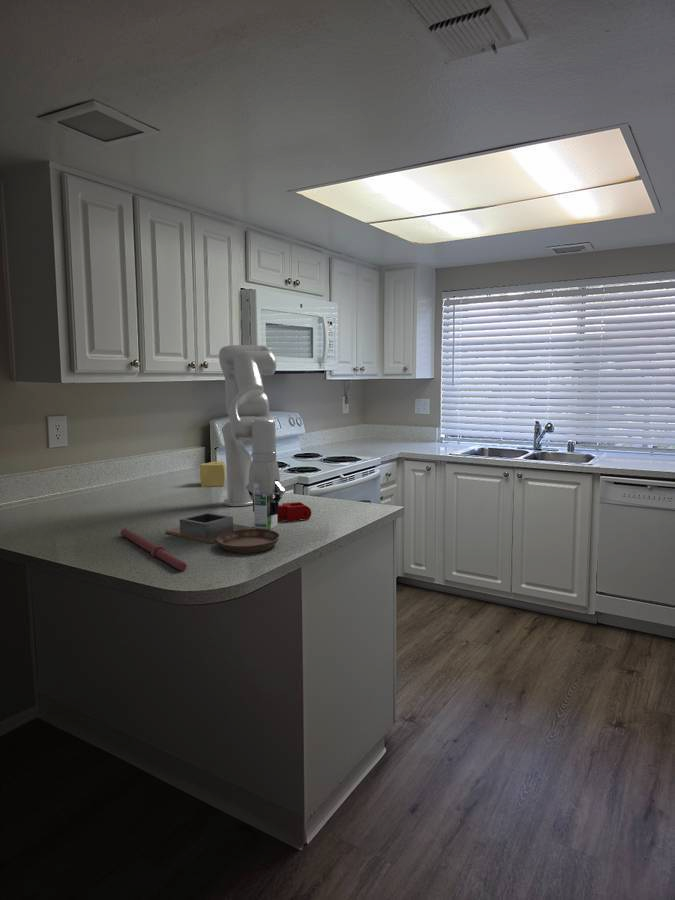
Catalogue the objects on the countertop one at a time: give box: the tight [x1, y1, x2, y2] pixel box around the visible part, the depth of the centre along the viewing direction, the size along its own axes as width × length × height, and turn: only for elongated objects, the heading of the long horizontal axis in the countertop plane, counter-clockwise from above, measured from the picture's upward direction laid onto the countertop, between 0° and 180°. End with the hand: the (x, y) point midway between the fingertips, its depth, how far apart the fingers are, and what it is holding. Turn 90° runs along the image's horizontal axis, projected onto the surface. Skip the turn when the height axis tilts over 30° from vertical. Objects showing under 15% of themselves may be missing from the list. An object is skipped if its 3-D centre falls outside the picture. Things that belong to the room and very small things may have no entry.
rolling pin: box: [120, 527, 188, 572], centre depth 172 cm, size 45×3×3 cm, turn 37°
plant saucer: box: [217, 528, 281, 554], centre depth 177 cm, size 18×18×3 cm
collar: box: [165, 512, 259, 544], centre depth 193 cm, size 18×22×5 cm
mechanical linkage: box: [277, 501, 312, 522], centre depth 209 cm, size 16×7×5 cm, turn 111°
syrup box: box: [253, 484, 278, 530], centre depth 198 cm, size 6×6×14 cm
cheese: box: [199, 461, 226, 488], centre depth 278 cm, size 10×11×10 cm
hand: (265, 512), depth 198 cm, fingers closed on syrup box, 6 cm apart
